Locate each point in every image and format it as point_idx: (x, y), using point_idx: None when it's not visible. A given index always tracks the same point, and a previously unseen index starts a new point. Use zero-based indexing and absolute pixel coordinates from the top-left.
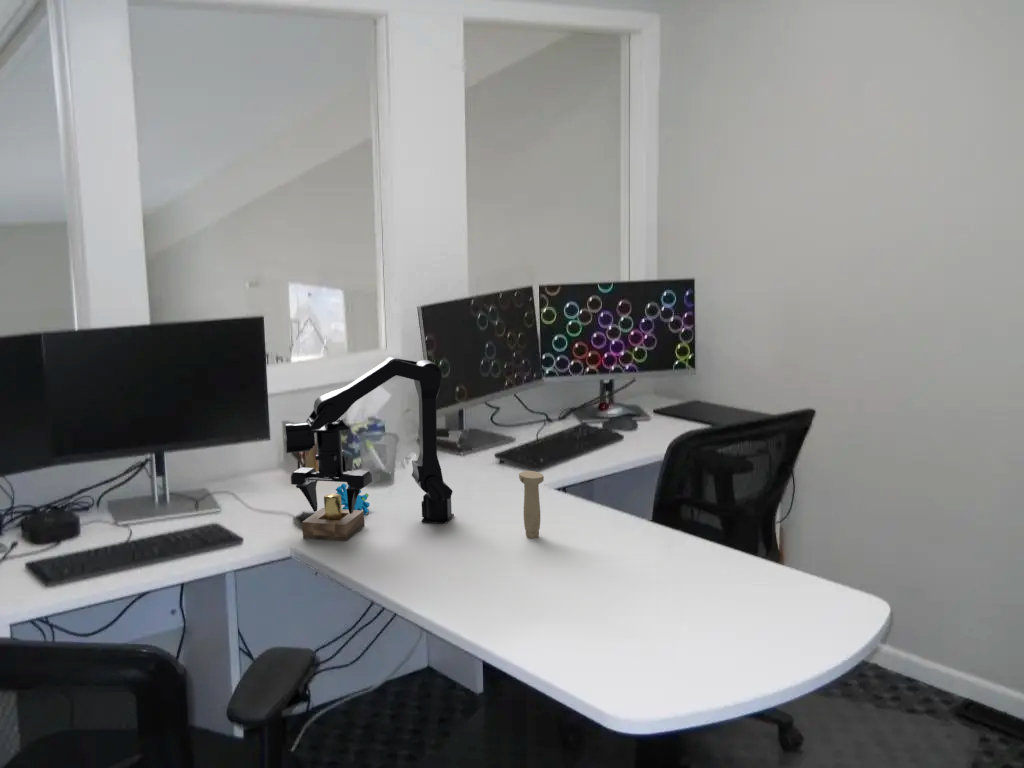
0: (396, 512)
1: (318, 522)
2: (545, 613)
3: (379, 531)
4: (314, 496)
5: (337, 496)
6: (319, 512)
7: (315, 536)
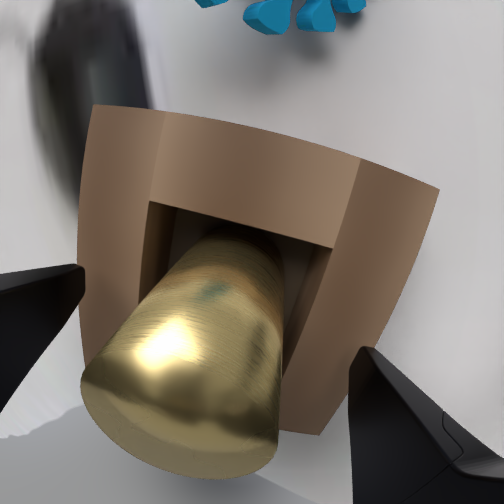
0: (486, 5)
1: None
2: None
3: (458, 265)
4: (5, 334)
5: (239, 451)
6: (98, 210)
7: None
